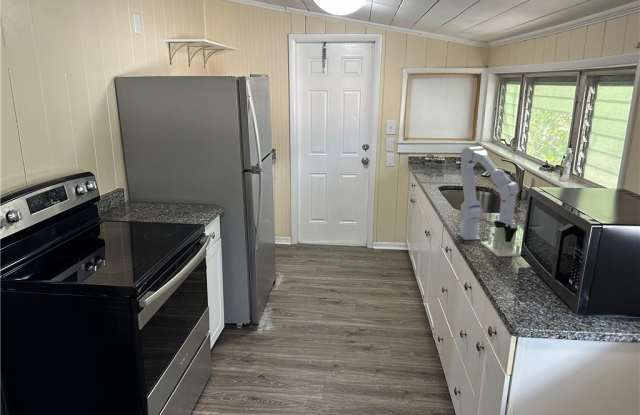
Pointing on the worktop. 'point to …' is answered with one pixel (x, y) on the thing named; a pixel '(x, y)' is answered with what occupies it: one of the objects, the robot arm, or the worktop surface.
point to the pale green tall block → (502, 238)
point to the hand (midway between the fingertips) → (503, 239)
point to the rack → (502, 251)
